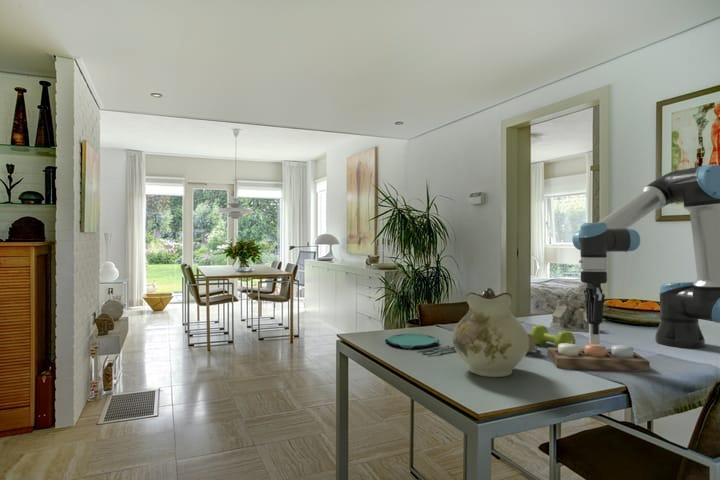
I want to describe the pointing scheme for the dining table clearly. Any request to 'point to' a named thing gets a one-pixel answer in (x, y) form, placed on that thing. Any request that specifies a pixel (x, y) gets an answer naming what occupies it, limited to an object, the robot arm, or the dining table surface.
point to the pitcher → (490, 335)
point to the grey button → (622, 351)
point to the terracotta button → (595, 350)
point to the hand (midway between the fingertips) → (594, 343)
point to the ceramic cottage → (569, 317)
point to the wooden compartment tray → (598, 361)
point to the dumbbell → (550, 336)
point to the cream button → (568, 349)
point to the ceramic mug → (531, 343)
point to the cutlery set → (417, 343)
